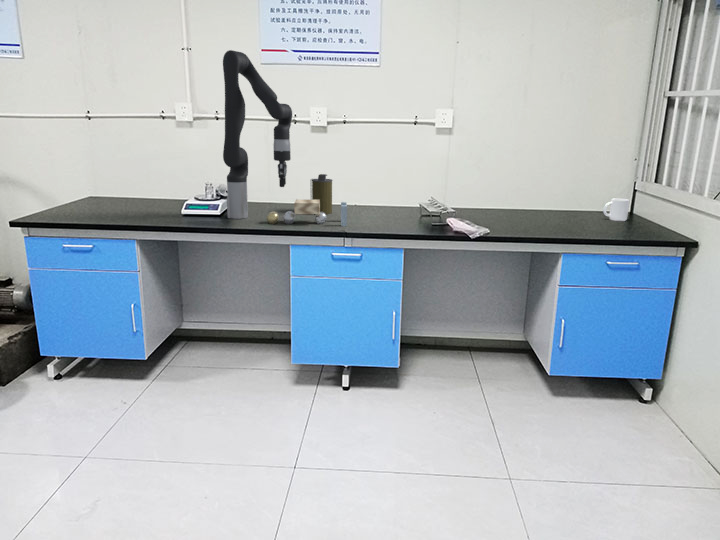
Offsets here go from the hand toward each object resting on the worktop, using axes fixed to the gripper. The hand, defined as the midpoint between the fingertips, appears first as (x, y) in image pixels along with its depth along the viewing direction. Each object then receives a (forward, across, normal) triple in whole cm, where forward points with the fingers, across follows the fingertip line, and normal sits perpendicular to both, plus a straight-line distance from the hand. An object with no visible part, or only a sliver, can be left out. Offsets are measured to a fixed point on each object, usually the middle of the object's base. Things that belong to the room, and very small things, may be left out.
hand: (282, 185), depth 255 cm
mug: (+17, -10, +165) cm, 166 cm away
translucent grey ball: (+14, +3, +15) cm, 20 cm away
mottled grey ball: (+13, +2, +5) cm, 15 cm away
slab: (+12, +3, +11) cm, 16 cm away
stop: (+17, +3, +28) cm, 33 cm away
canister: (+17, -23, +18) cm, 34 cm away
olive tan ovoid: (+16, +2, -3) cm, 17 cm away
